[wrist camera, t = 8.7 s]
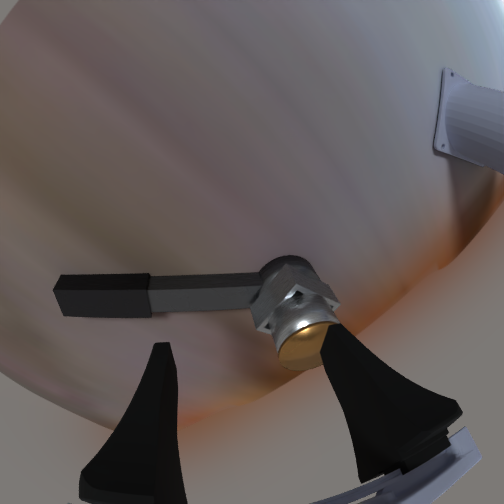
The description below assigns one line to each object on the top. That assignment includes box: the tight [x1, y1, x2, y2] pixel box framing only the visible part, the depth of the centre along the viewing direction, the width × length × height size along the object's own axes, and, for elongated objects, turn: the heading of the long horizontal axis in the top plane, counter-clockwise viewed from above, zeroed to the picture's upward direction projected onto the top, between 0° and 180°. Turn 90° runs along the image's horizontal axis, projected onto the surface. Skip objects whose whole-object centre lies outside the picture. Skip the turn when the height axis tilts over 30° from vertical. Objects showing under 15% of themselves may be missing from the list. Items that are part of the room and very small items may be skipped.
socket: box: [250, 264, 341, 371], centre depth 19 cm, size 5×5×6 cm
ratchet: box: [53, 255, 321, 318], centre depth 20 cm, size 22×5×4 cm, turn 86°
